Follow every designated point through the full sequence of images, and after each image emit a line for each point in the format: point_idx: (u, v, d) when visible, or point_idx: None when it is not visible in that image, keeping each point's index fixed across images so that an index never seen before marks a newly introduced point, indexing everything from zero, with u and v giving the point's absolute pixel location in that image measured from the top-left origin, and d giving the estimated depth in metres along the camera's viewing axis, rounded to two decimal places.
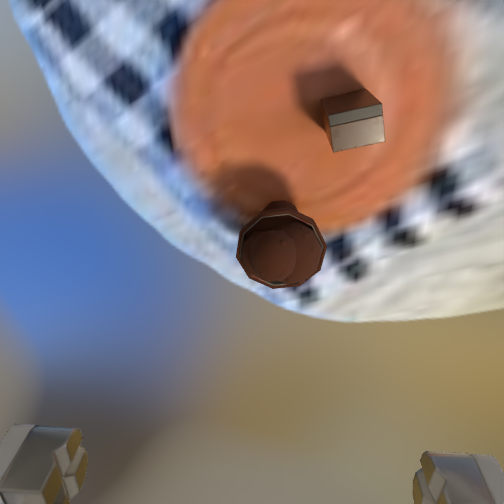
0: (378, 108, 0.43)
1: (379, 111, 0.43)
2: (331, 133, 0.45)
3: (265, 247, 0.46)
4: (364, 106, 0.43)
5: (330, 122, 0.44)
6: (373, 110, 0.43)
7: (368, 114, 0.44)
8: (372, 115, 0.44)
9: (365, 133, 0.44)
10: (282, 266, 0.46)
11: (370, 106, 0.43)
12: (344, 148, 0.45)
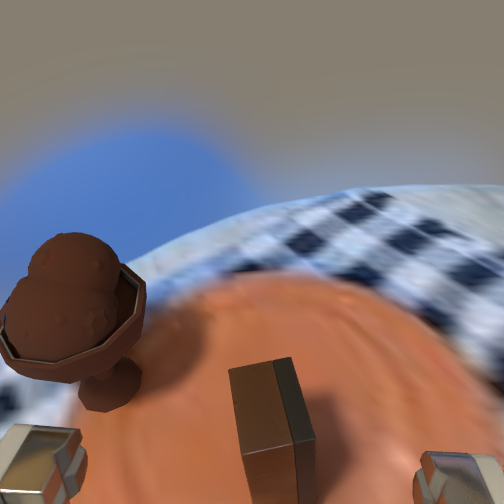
0: (305, 433, 0.22)
1: (300, 435, 0.22)
2: (261, 363, 0.26)
3: (99, 243, 0.30)
4: None
5: (279, 360, 0.26)
6: (301, 424, 0.23)
7: (294, 417, 0.23)
8: (292, 424, 0.23)
9: (259, 416, 0.23)
10: (58, 251, 0.28)
11: (309, 419, 0.23)
12: (233, 385, 0.25)
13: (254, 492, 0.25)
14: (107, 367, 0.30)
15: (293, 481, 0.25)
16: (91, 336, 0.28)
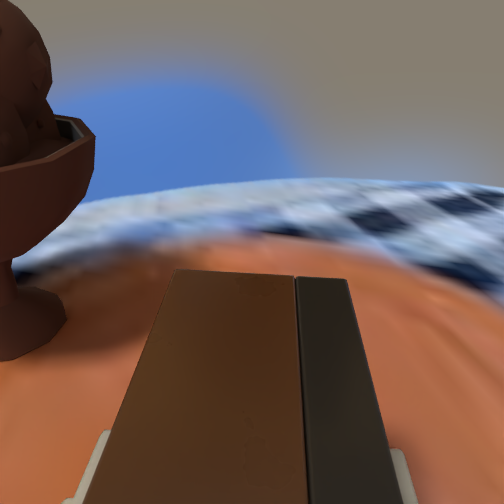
0: (369, 498, 0.05)
1: (344, 500, 0.05)
2: (263, 276, 0.10)
3: (17, 11, 0.15)
4: None
5: (314, 279, 0.10)
6: (355, 459, 0.06)
7: (330, 425, 0.06)
8: (319, 449, 0.06)
9: (210, 393, 0.07)
10: None
11: (388, 449, 0.06)
12: (170, 300, 0.09)
13: None
14: None
15: None
16: None
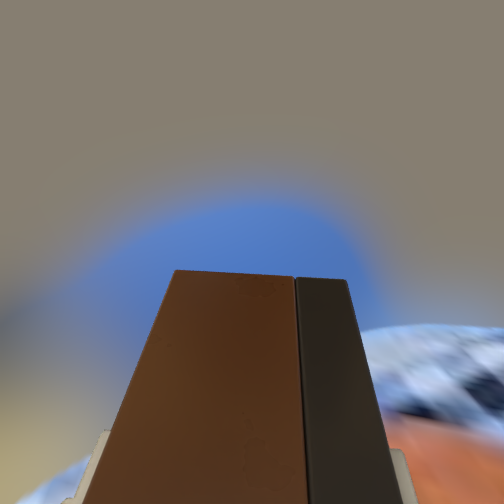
0: (369, 499, 0.05)
1: (344, 502, 0.05)
2: (262, 276, 0.10)
3: None
4: None
5: (313, 280, 0.10)
6: (355, 461, 0.06)
7: (330, 426, 0.06)
8: (318, 450, 0.06)
9: (209, 393, 0.07)
10: None
11: (388, 451, 0.06)
12: (170, 301, 0.09)
13: None
14: None
15: None
16: None
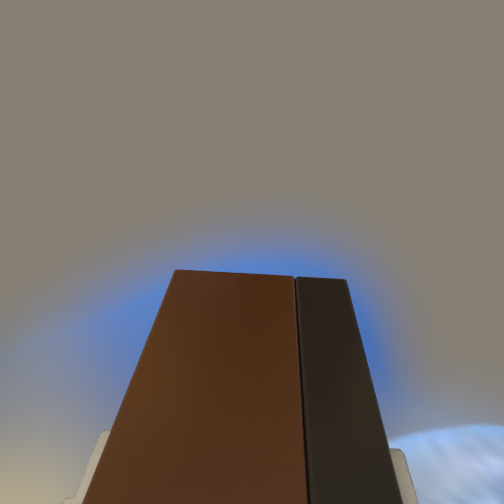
0: (369, 498, 0.05)
1: (344, 501, 0.05)
2: (262, 276, 0.10)
3: None
4: None
5: (313, 279, 0.10)
6: (355, 460, 0.06)
7: (330, 426, 0.06)
8: (318, 450, 0.06)
9: (209, 393, 0.07)
10: None
11: (387, 449, 0.06)
12: (169, 300, 0.09)
13: None
14: None
15: None
16: None
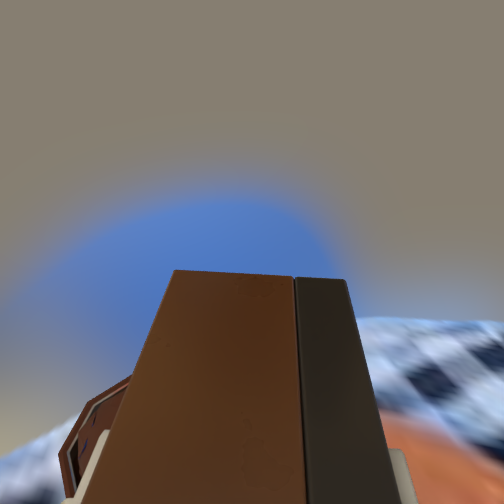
0: (367, 498, 0.05)
1: (343, 501, 0.05)
2: (261, 276, 0.10)
3: None
4: None
5: (313, 279, 0.10)
6: (354, 460, 0.06)
7: (328, 426, 0.06)
8: (317, 450, 0.06)
9: (208, 394, 0.07)
10: None
11: (386, 449, 0.06)
12: (169, 301, 0.09)
13: None
14: None
15: None
16: None
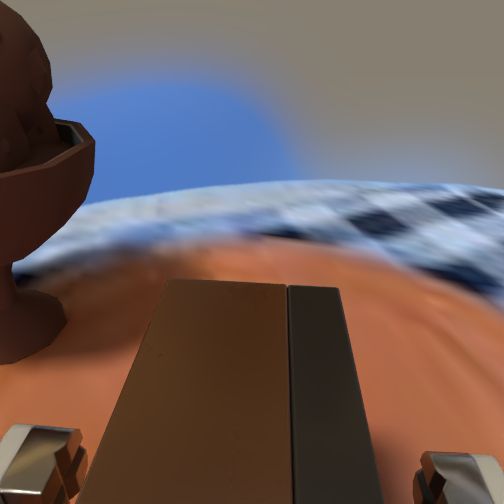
0: None
1: None
2: (255, 284, 0.10)
3: (17, 17, 0.15)
4: None
5: (306, 288, 0.10)
6: (341, 472, 0.06)
7: (317, 437, 0.06)
8: (305, 461, 0.06)
9: (199, 404, 0.07)
10: None
11: (373, 462, 0.06)
12: (162, 309, 0.09)
13: None
14: None
15: None
16: None
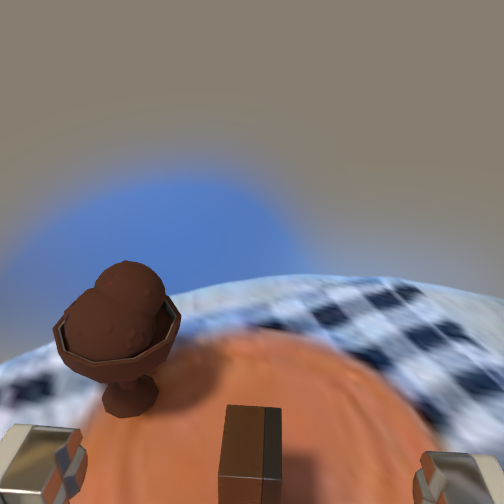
0: (274, 473, 0.27)
1: (269, 473, 0.26)
2: (255, 407, 0.31)
3: (154, 275, 0.37)
4: None
5: (270, 408, 0.31)
6: (273, 465, 0.27)
7: (269, 457, 0.27)
8: (266, 463, 0.27)
9: (241, 449, 0.28)
10: (121, 274, 0.35)
11: (281, 463, 0.27)
12: (227, 418, 0.30)
13: None
14: (133, 377, 0.36)
15: None
16: (128, 348, 0.34)
